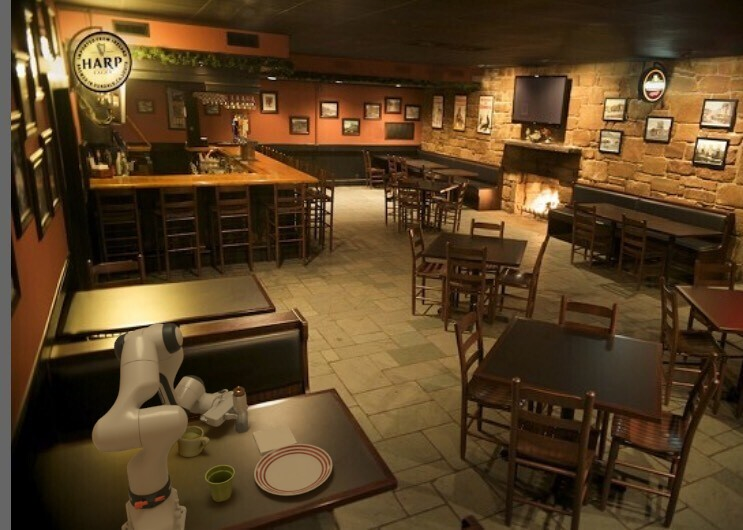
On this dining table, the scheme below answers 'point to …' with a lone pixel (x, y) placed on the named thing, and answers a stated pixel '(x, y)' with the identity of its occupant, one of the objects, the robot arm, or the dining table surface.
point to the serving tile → (273, 438)
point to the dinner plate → (293, 469)
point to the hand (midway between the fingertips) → (242, 412)
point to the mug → (192, 442)
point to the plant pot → (220, 482)
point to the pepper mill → (240, 409)
